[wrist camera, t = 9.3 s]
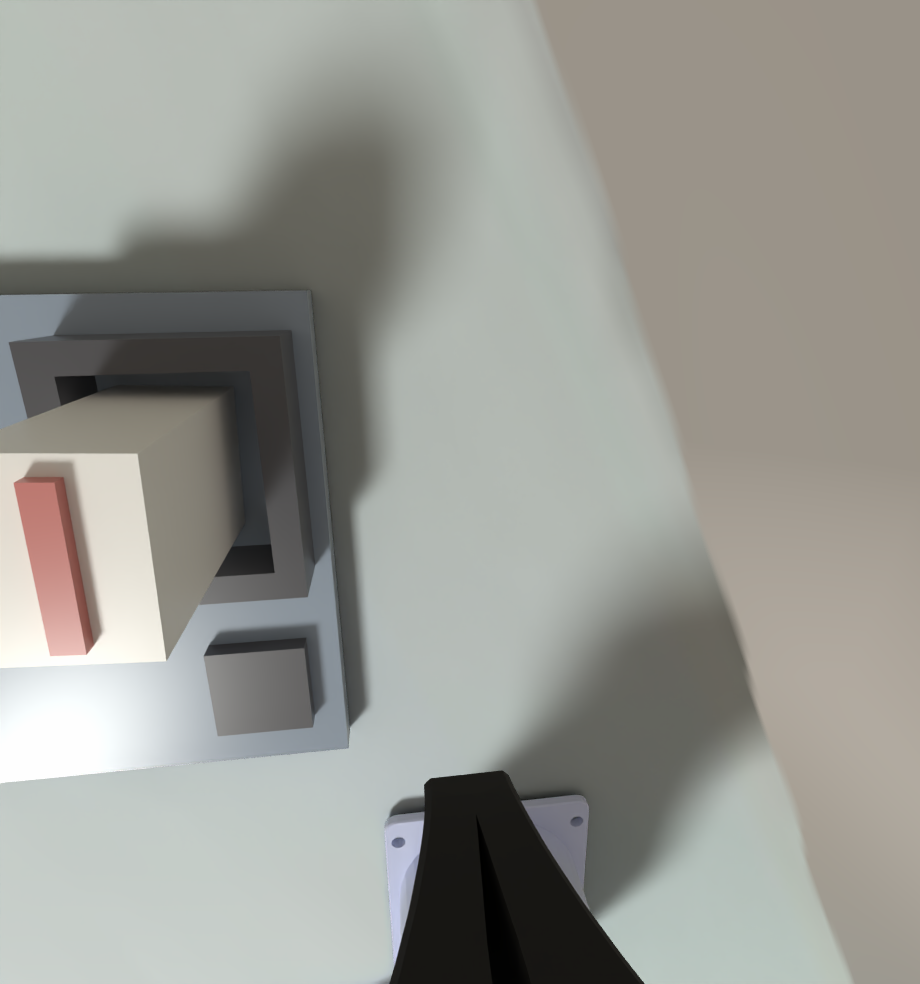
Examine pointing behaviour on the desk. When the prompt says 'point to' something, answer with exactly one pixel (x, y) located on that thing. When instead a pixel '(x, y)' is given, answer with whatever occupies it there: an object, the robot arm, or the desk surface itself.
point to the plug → (115, 522)
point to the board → (213, 627)
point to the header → (270, 360)
